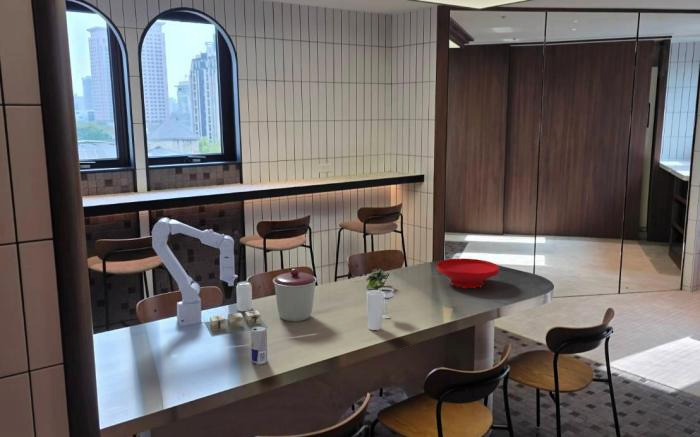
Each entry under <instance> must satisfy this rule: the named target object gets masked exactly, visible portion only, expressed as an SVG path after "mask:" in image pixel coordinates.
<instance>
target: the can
mask: <svg viewBox="0 0 700 437" xmlns="http://www.w3.org/2000/svg"><path fill="white" fill-rule="evenodd" d="M236 284H237V285H236V286H235V287H236V310H237V311H239V312H249V311H252V309H253V289H252V284H251V282H250V281H248V280H247V281H246V280H242V281H239V282H237V283H236Z"/></svg>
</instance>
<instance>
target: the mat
mask: <svg viewBox="0 0 700 437" xmlns="http://www.w3.org/2000/svg"><path fill="white" fill-rule="evenodd" d="M260 320H261V324H256V325H249V326H248V324H247V323H246V322H245V316H243V326H242V327H235V328H230V326H229V324H228V318H225V322H226V329H221V330H214V331H213V330H212V328H211V326H210V321H204V322H203V323H204V325H205V327H206V329H207V331H208V332H209V334H210V336H211V337H217V336H223V335H230V334H237V333H243V332H244V333H245V332H251V329H252V328H253V327H255V326H264V327H266V329H268V328H269V327H268V325H266V323H265V322H264V321H263V320H262V318H260Z"/></svg>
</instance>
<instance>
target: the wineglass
mask: <svg viewBox="0 0 700 437" xmlns="http://www.w3.org/2000/svg"><path fill="white" fill-rule="evenodd" d="M377 290H380V291H382V292H383V293H384V314H382V318H390V316H391V315H389V314H387V303H388V302H390V301H391V300H393V298H394V295H395V293H394V291H395V289H393V288H392V287H386V286H384V287H382V286H381V287H378V288H377ZM388 315H389V316H388ZM390 319H391V318H390Z"/></svg>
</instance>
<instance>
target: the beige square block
mask: <svg viewBox="0 0 700 437" xmlns="http://www.w3.org/2000/svg"><path fill="white" fill-rule="evenodd" d="M225 319H226V318H225V316H224V315H223V314H222V315H220V314H219V315H214V316H213V315H211V316H209V322H210V326H211V328H212V330H213V331H214V330H221V329H226V322H225Z"/></svg>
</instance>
